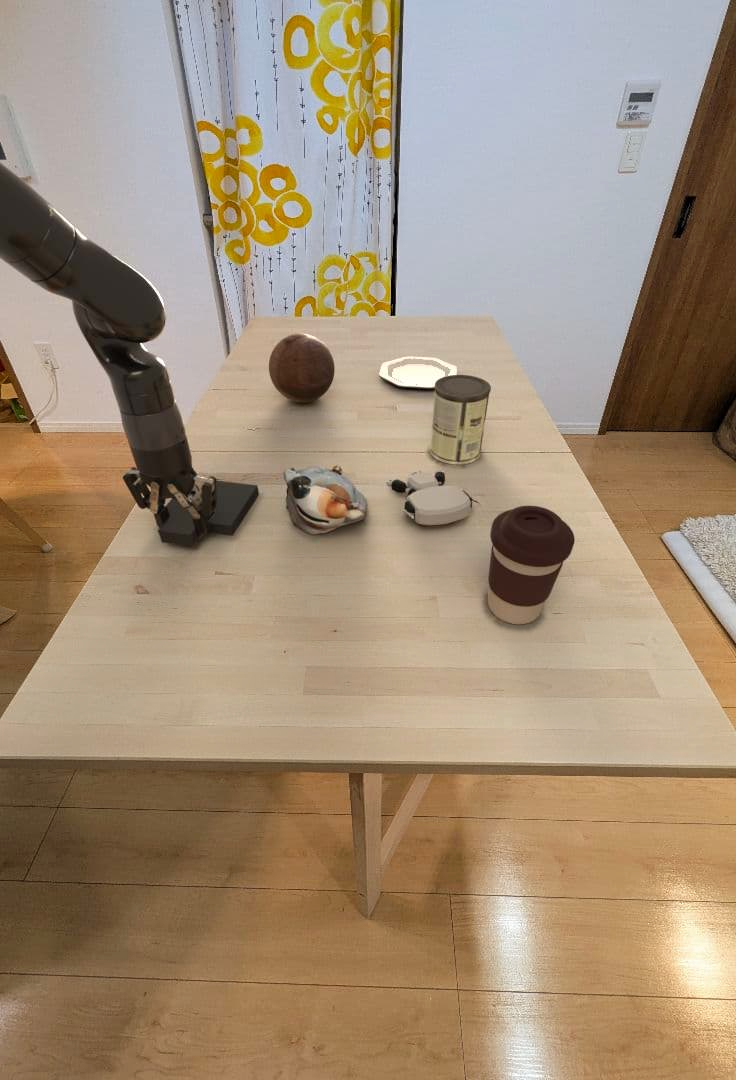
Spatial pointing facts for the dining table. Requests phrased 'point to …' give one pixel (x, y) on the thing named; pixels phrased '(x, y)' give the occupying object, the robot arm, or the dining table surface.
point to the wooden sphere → (301, 367)
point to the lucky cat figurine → (322, 499)
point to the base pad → (226, 506)
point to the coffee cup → (525, 561)
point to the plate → (415, 373)
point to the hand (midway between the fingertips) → (184, 530)
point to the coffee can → (459, 418)
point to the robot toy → (432, 498)
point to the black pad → (179, 529)
